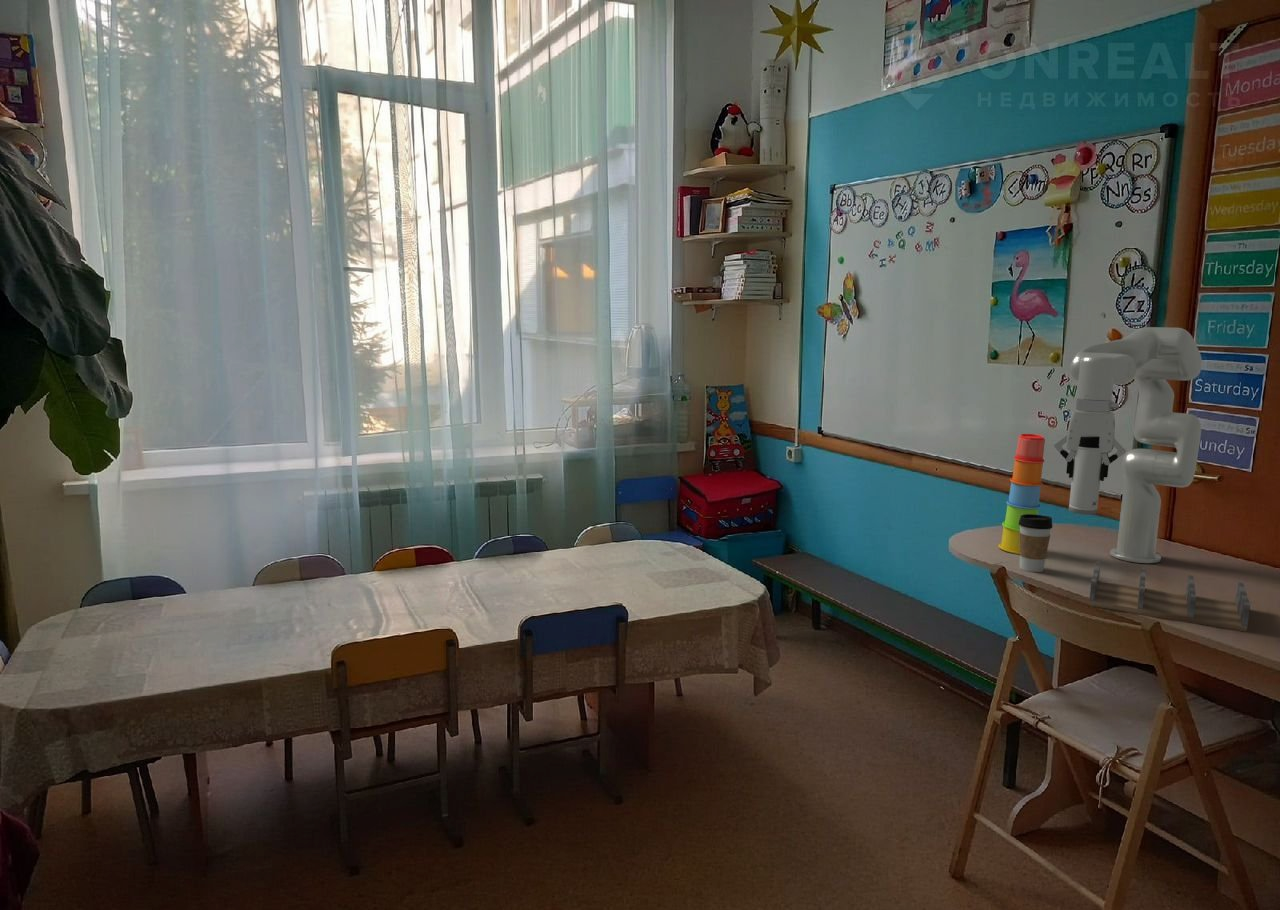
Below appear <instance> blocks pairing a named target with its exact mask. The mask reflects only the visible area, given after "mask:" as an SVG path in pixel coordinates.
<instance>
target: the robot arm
mask: <svg viewBox="0 0 1280 910" xmlns="http://www.w3.org/2000/svg"><path fill="white" fill-rule="evenodd" d="M1202 361H1203V360H1202V355H1201V352H1200V350H1199V348H1198V346H1197V342H1195V339H1194V338H1193V336H1192V334H1191V333H1190V332H1189V331H1188V330H1187V329H1184V328H1182V327H1167V326H1166V327H1165V326H1164V327H1162V326H1161V327H1159V326H1157V327H1156V326H1153V327H1152V326H1146V327H1141V328H1138V329H1136V330H1134V331H1133V332H1131V333H1130V334H1128V335H1126V336H1125V337H1123V338H1121V339H1115V340H1112V341H1111V340H1110V341H1107V342H1103V343H1096V344H1092V345H1088V346H1086V347H1084V348H1083V349H1081V350H1080V351H1078V352H1077V353H1076V354H1075V355H1074V357H1073V358H1072V360H1071V363H1070V367H1069V368H1070V370H1069V371H1070V376H1071V377H1072V378H1073V379H1074V380H1075V381H1077V382H1078V383H1077V393H1076V402H1075V403H1076V404H1075V409H1074V410H1072V412H1071V415H1070V419H1069V422H1068V428H1067V434H1066V436H1064V437H1063V438H1061V439H1060V440H1059V441H1057V442H1056V443H1055V444H1053V447H1054V449H1055V450H1056V451H1057V452H1059V454H1060V455H1061V456H1062V457H1063V459H1065V461H1066V462H1067V463H1066V471H1065V472H1066V474H1067V475H1068V478H1069V479H1072V474H1073V464H1074V455H1075V451H1077V449H1078V446H1079V444H1080V442H1079V441H1080V437H1100V440H1099V448H1100V450H1099V451H1100V453H1101V454H1102V459H1103V461H1102V466H1101V476H1100V482H1104V481H1105V478H1108V476H1109V466H1110V464H1112V463H1113V462H1114V461H1116V460H1117V459H1118V458H1120V457H1121V456H1122V455H1123V457H1122V463H1121V470H1122V485H1123V486H1122V497H1121V498H1122V499H1121V504H1120V505H1121V507H1120V514H1119V515H1120V517H1119V524H1118V534H1117V535H1118V536H1117V544H1116V547H1113V548H1111V549H1110V551H1109V552H1110V553H1109V554H1110V555H1111V556H1112V557H1114V558H1116V559H1119V560H1121V561H1126V562H1131V563H1137V564H1138V563H1139V564H1156V563H1159V562H1161V561H1162V556H1161V555H1160V554H1159V553H1157V552H1156V549H1157V542H1158V541H1157V539H1158V532H1159V523H1160V515H1161V514H1160V512H1161V505H1162V498H1161V495H1160V492H1159V491H1158V490H1157V488H1156V486H1155V485H1159V486H1164V487H1165V486H1167V487H1174V488H1187V487H1189V486H1190V485H1191V484H1192V482H1193V481H1194V478H1195V475H1196V470H1197V469H1196V467H1197V463H1198V462H1197V461H1198V456H1199V451H1200V443H1201V437H1202V436H1201V435H1202V424H1201V421H1200V419H1199V418H1198V416H1196V415H1194V414H1191V413H1185V412H1183V413H1182V412H1173V407H1174V400H1175V392H1174V390H1173V388H1172V387H1171V385H1170V383H1168V381H1167V380H1170V381H1171V380H1172V381H1191V380H1193V379H1194V380H1195V378H1197V377H1198V376H1199V375H1200V373H1201V371H1202V366H1203V362H1202ZM1133 379H1134V381H1135V384H1136V386H1137V390H1138V392H1137V393H1138V399H1137V407H1136V411H1135V418H1134V427H1133V437H1134V439H1135V440H1136V441H1137V442H1138V443H1141V444H1146V445H1154V446H1162V447H1170V448H1174V449H1176V451H1175V452H1174V451H1166V450H1159V449H1151V448H1133V449H1130V450H1128V451H1127V450H1126V448H1125V447H1123V445H1122V444H1121V443H1120V442H1119V441H1117V439H1116V438H1115V436H1116V435H1115V432H1116V422H1115V421H1116V420H1115V419H1116V418H1115V417H1116V416H1115V413H1114V412H1111V411H1112V410H1114V409H1119V403H1118V402H1114V401H1113V399H1112V398H1113V393H1114V392H1113V390H1114V385H1124V384H1127V383H1129V382H1131V381H1132V380H1133ZM1063 445H1066V449H1067V450H1069V452H1068V451H1067V450H1066V449H1065V448H1064V447H1063ZM1114 448H1115V449H1116V452H1114V453H1113V454H1111V455H1110V456H1109V454H1110V453H1111V452H1112V451H1113V450H1114Z"/></svg>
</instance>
